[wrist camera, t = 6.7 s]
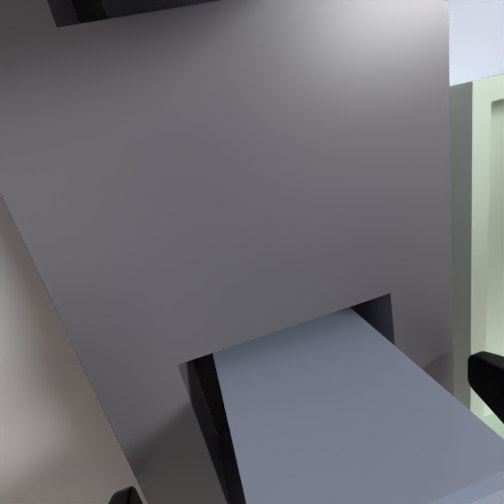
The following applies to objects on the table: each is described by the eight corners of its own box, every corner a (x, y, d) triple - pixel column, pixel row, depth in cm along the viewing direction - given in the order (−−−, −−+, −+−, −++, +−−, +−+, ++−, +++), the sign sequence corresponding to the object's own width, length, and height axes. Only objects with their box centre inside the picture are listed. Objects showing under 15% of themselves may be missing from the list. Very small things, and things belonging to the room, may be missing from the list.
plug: (334, 375, 13) (546, 662, 6) (232, 412, 12) (326, 788, 5) (319, 281, 11) (575, 499, 4) (204, 316, 11) (278, 646, 4)
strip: (329, -351, 7) (488, -844, 4) (399, 431, 14) (473, 519, 11) (-166, -354, 6) (-714, -1183, 2) (194, 515, 13) (204, 648, 9)
